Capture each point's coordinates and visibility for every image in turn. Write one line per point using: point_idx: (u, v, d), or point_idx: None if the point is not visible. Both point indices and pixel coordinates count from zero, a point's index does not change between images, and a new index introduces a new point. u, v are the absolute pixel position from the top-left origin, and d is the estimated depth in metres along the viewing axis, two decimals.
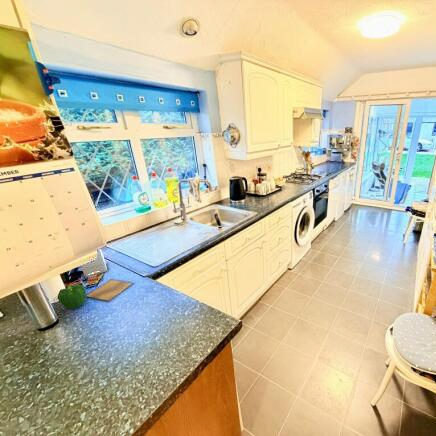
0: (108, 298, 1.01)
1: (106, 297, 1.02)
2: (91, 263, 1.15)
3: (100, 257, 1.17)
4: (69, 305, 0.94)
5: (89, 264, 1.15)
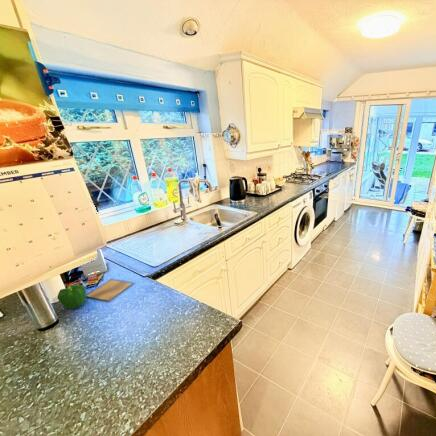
0: (108, 298, 1.01)
1: (106, 297, 1.02)
2: (91, 263, 1.15)
3: (100, 257, 1.17)
4: (69, 305, 0.94)
5: (89, 264, 1.15)
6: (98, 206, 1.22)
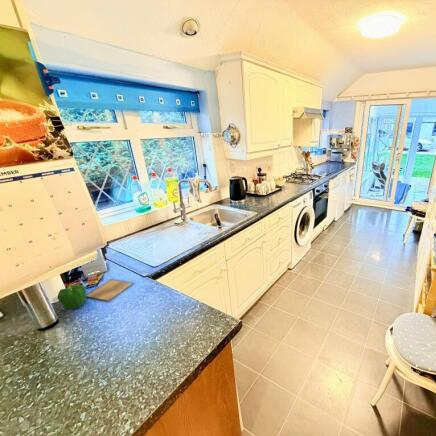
0: (108, 298, 1.01)
1: (106, 297, 1.02)
2: (91, 263, 1.15)
3: (100, 257, 1.17)
4: (69, 305, 0.94)
5: (89, 264, 1.15)
6: (106, 246, 1.23)
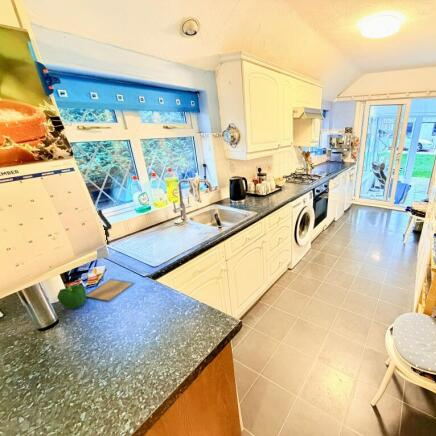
0: (108, 298, 1.01)
1: (106, 297, 1.02)
2: None
3: None
4: (69, 305, 0.94)
5: None
6: None
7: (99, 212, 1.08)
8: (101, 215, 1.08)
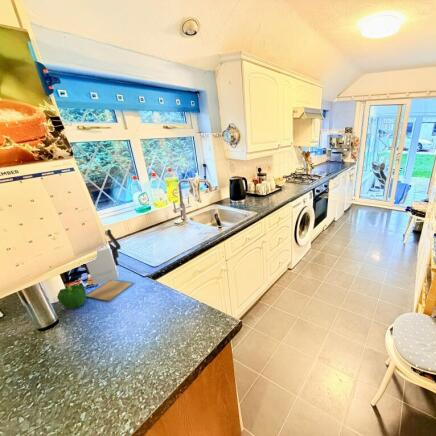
0: (108, 298, 1.01)
1: (106, 297, 1.02)
2: (101, 269, 0.98)
3: (111, 262, 1.00)
4: (69, 305, 0.94)
5: (98, 270, 0.98)
6: None
7: (108, 232, 1.06)
8: (110, 235, 1.06)
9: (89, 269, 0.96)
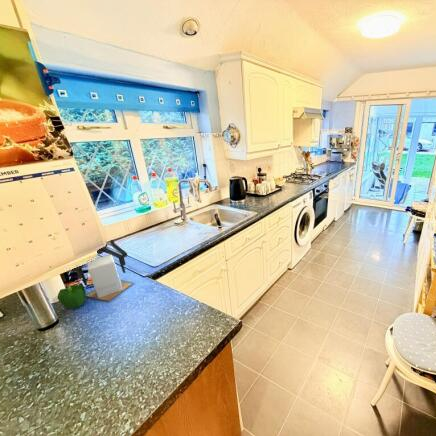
0: (108, 298, 1.01)
1: (106, 297, 1.02)
2: (105, 282, 1.01)
3: (115, 275, 1.03)
4: (69, 305, 0.94)
5: (103, 283, 1.00)
6: None
7: (112, 242, 1.09)
8: (114, 245, 1.09)
9: (94, 283, 0.98)
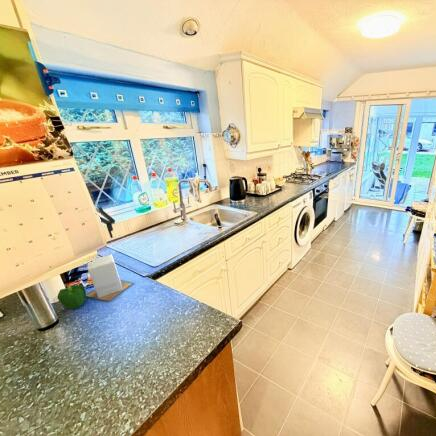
0: (108, 298, 1.01)
1: (106, 297, 1.02)
2: (105, 282, 1.01)
3: (115, 275, 1.03)
4: (69, 305, 0.94)
5: (103, 283, 1.00)
6: (112, 223, 1.16)
7: (100, 209, 1.14)
8: (102, 212, 1.14)
9: (94, 283, 0.98)
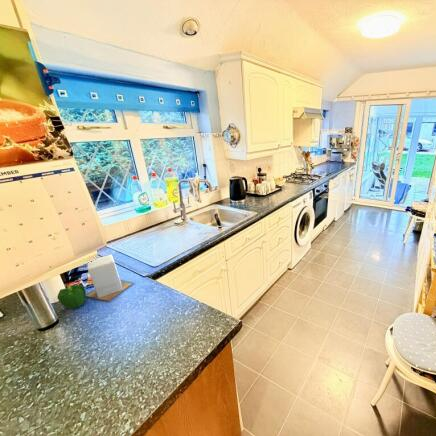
0: (108, 298, 1.01)
1: (106, 297, 1.02)
2: (105, 282, 1.01)
3: (115, 275, 1.03)
4: (69, 305, 0.94)
5: (103, 283, 1.00)
6: None
7: None
8: None
9: (94, 283, 0.98)
